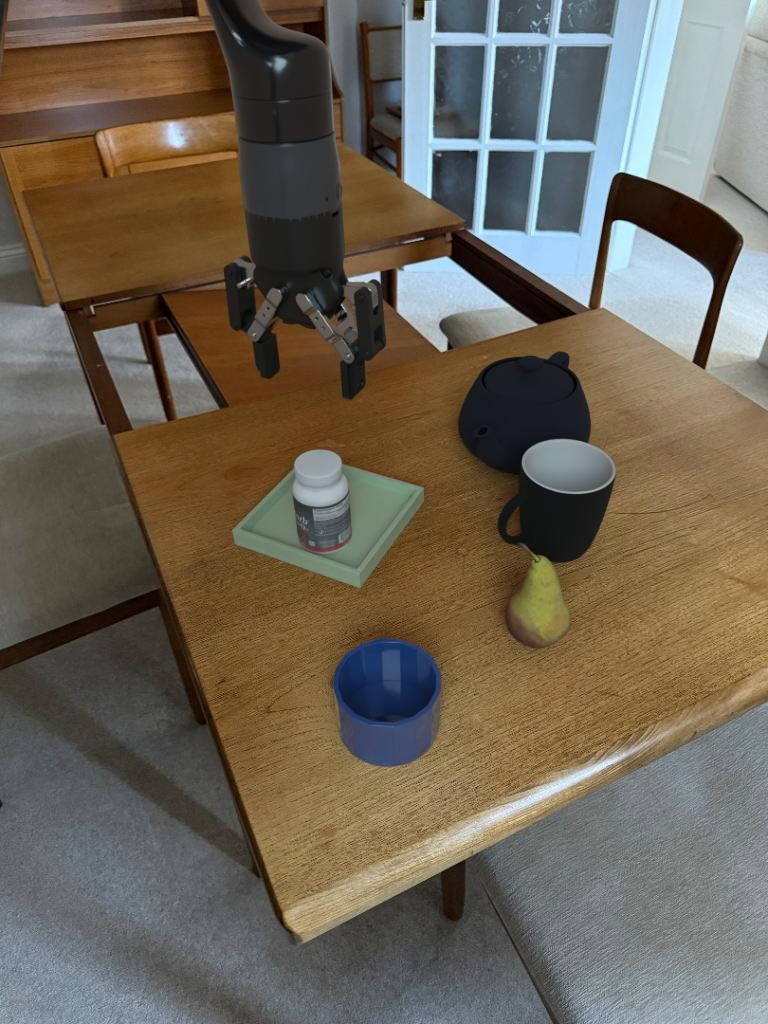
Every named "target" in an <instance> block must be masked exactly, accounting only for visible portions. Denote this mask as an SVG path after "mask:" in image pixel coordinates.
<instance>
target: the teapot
mask: <svg viewBox="0 0 768 1024" xmlns="http://www.w3.org/2000/svg"><path fill="white" fill-rule="evenodd" d="M570 360H571V359H570V355H569V354H568V353H567V352H566V351H561V350H560V351H555V352H554V353H552V354H551V355H550V356H549V357H548V358H542V357H539V356H537V355H523V356H509V357H505V358H501V359H498V360H495V361H493V362H491V363H490V364H488V365H486V366H485V367H484V368H483V369H482V370H481V371H480V373H479V374H478V376H476V379H475V380H474V382H473V384H472V385H471V387H470V388H469V390H468V392H467V394H466V396H465V398H464V399H463V402H462V404H461V406H460V407H461V408H460V411H459V413H458V419H457V420H458V422H457V429H458V434H459V437H460V440H461V441H462V443H463V445H464V447H465V448H466V449H467V450H468V451H469V453H471V454H472V455H473V456H474V457H476V458H477V459H478V460H480V461H481V462H482V463H484V464H485V465H487V466H489V467H490V468H492V469H495V470H497V471H499V472H502V473H506V474H511V475H518V476H520V467H521V461H522V458H523V455H524V454H525V452H526V451H527V450H528V449H529V448H531V447H532V446H534V445H536V444H538V443H540V442H543V441H547V440H553V439H570V440H577V441H582V442H585V443H588V444H589V440H590V437H591V431H592V421H591V420H592V419H591V412H590V408H589V407H590V406H589V404H588V401H587V398H586V397H587V396H586V394H585V392H584V389H583V386H582V383H581V381H580V378H579V377H578V375H577V374H576V373H575V372H574V371H573V370H572V369H570V368H569V366H570Z"/></svg>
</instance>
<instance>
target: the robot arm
mask: <svg viewBox="0 0 768 1024" xmlns="http://www.w3.org/2000/svg"><path fill="white" fill-rule="evenodd" d="M203 1H204V3H205V6H206V8H207V9H206V10H207V11H208V15H209V17H210V19H211V22H212V25H213V29H214V32H215V34H216V37H217V39H218V43H219V47H220V49H221V52H222V56H223V59H224V61H225V65H226V69H227V72H228V77H229V83H230V92H231V99H232V105H233V113H234V120H235V127H236V128H235V129H236V134H237V146H238V149H237V150H238V155H237V157H238V158H237V160H238V174H239V182H240V190H241V197H242V203H243V211H244V219H245V226H246V233H247V240H248V241H247V242H248V248H249V255H250V257H249V256H247V255H241V256H239V257H238V258H236V259H235V260H233V261H231V262H229V263H227V264H226V265H224V267H223V278H224V286H225V294H226V303H227V312H228V313H227V314H228V320H229V326H230V328H231V329H232V330H233V331H235V332H239V331H242V332H243V333H245V334H247V337H248V339H249V340H250V341H251V342H252V343H251V344H252V349H253V356H254V357H253V358H254V364H255V367H256V369H257V371H258V372H259V375H260V377H261V378H262V379H266V380H271V379H272V378H273V377H275V376H276V375H277V374H278V373H279V372H280V370H281V361H280V353H279V346H278V337H277V333H275V332H272V331H273V330H274V329H275V327H276V326H277V325H278V323H279V322H280V320H282V323H283V324H285V325H299V326H301V327H303V328H305V329H308V330H314V331H315V330H317V332H318V333H319V335H321V337H322V339H323V340H324V341H325V342H326V343H330V344H331V345H332V346H333V347H334V349H335V351H336V352H337V353H338V355H339V357H340V358H341V361H339V369H340V370H339V371H340V384H341V385H340V386H341V398H342V399H343V400H344V399H345V400H349V401H352V400H353V399H355V397H356V396H357V395H358V394H359V393H360V392H361V391H362V390H363V389H364V388H365V387H366V383H367V381H366V362H370V361H372V360H373V359H374V358H375V356H377V354H378V353H380V352H381V351H383V350H384V348H385V347H386V346H387V338H386V337H387V335H386V325H385V324H386V323H385V311H384V310H385V309H384V300H383V299H384V298H383V287H382V284H381V282H380V281H379V280H378V279H377V278H376V279H375V278H372V279H370V280H369V281H368V282H355V281H349V279H348V277H347V275H346V272H345V269H344V262H345V256H346V255H345V253H346V246H345V245H346V244H345V228H344V209H343V208H344V207H343V185H342V174H341V173H342V171H341V162H340V161H341V160H340V156H339V155H340V154H339V151H338V145H337V140H336V138H337V137H336V131H335V129H336V127H335V114H334V113H335V112H334V111H335V110H334V98H333V97H334V96H333V95H334V93H333V80H332V79H333V77H332V67H331V64H332V63H331V57H330V53H329V50H328V47H327V46H326V44H325V43H324V42H323V41H322V40H320V39H319V38H318V37H316V36H314V35H310V34H309V33H305V32H300V31H297V30H293V29H289V28H287V27H283V26H282V25H280V24H277V23H276V22H274V21H273V20H272V19H271V18H270V17H269V15H268V14H267V12H266V11H265V8H264V7H263V5H262V3H261V0H203ZM9 7H10V0H0V75H1V72H2V64H3V57H4V49H5V39H6V32H7V24H8V14H9V9H10V8H9ZM255 286H256V288H258V290H259V291H260V293H261V294H262V296H263V297H264V300H263V302H262V304H261V305H260V307H259V308H258V310H257V305H256V304H257V303H256V294H255ZM346 299H347V300H348V301H349V302H350V309H349V307H348V305H347V304H346V302H345V301H346ZM352 312H355V316H354V315H353V313H352ZM334 316H335V318H336V320H337V324H335V325H334V324H333V323H332V322H331V319H332V318H333V317H334Z"/></svg>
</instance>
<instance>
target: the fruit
mask: <svg viewBox="0 0 768 1024" xmlns="http://www.w3.org/2000/svg"><path fill="white" fill-rule="evenodd" d="M516 547H520V548H521V549H523V550H524V551H526V552H527V553H528V554H529V555H530V556H531V557H532V559H531V562H530V565H529V567H528V569H527V572H526V574H525V578H524V580H523V583H522V585H521V587H520V588H519V589H518V591H516V592H515V593H514V594H513V595H512V596H511V597H510V599H509V600H508V602H507V605H506V608H505V625H506V628H507V630H508V632H509V634H510V635H511V636H512V637H513V638H514V639H516V641H517V642H519V643H520V644H523V645H525V646H526V647H530V648H533V649H545V648H548V647H551V646H553V645H555V644H557V643H558V642H559V641H561V640H562V639H563V638H565V636H566V635H567V634H568V632H569V630H570V628H571V625H572V618H571V616H572V615H571V612H570V608H569V605H568V603H567V602H566V600H565V599H564V596H563V591H562V586H561V583H560V580H559V577H558V576H559V575H558V572H557V569H556V568H555V567H554V565H553V562H551V561H550V560H548V559H547V558H546V557H544V556H541V555H538V556H536V555H535V554H533V553H532V552H531V551H530V550H529V548H528V547H527V546H526V544H523V543H520V542H518V543H517V545H516Z"/></svg>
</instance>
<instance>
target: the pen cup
mask: <svg viewBox="0 0 768 1024" xmlns="http://www.w3.org/2000/svg"><path fill="white" fill-rule="evenodd" d="M332 693H333V701H334V710H335V719H336V720H335V721H336V726H337V729H338V734H339V737H340V739H341V743H343V745H344V746H345V748H346V749H347V750H348V752H350V754H352V755H353V756H354V757H356V758H357V759H358V760H360V761H362V762H364V763H366V764H369V765H372V766H377V767H384V768H388V767H389V768H391V767H399V766H403V765H407V764H410V763H412V762H415V761H416V760H417V759H419V758H421V757H422V756H423V755H425V753H427V752H428V751H429V750H430V748H432V746H433V744H434V743H435V741H436V740H437V736H438V734H439V731H440V718H441V697H442V696H441V694H442V673H441V671H440V669H439V666H438V665H437V662H436V660H435V659H434V657H433V656H432V655H431V654H429V653H428V652H427V651H426V650H424V648H422V646H420V645H418V644H415V643H412V642H409V641H407V640H405V639H402V638H385V637H384V638H378V639H373V640H370V641H369V640H368V641H366V642H362V643H360V644H359V645H357V646H355V647H354V648H352V649H351V650H349V651H348V652H347V653H345V654H344V656H343V657H342V659H341V660H340V661H339V663H338V664H337V666H336V667H335V669H334V675H333V682H332Z"/></svg>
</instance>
